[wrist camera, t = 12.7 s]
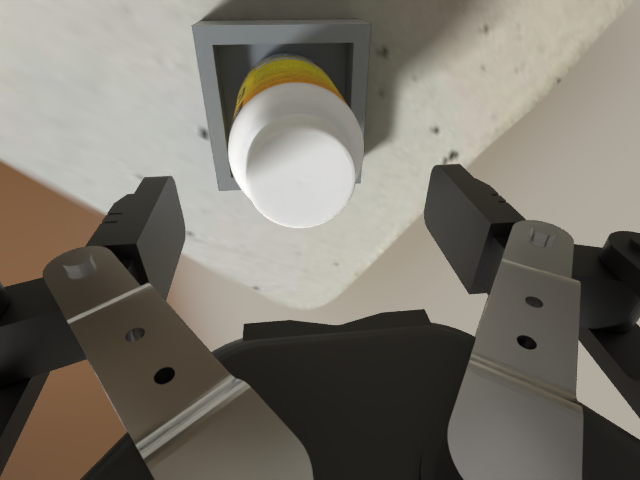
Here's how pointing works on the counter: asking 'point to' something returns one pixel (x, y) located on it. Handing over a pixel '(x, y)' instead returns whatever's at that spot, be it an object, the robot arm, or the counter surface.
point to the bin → (267, 40)
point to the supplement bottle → (294, 142)
